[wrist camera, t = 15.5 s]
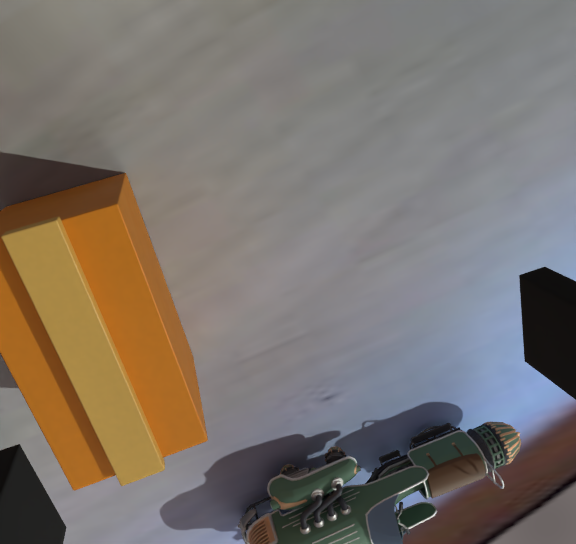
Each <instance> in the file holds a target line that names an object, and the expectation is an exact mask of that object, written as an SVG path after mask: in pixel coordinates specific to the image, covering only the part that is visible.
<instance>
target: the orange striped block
mask: <svg viewBox="0 0 576 544" xmlns="http://www.w3.org/2000/svg"><path fill="white" fill-rule="evenodd" d="M0 353H1V355H2V357H3V359H4V361H5V363H6V365H7V366H8V368H9V370H10V372H11V374H12V376H13V378H14V380H15V381H16V383H17V385H18V387H19V389H20V391H21V393H22V395H23V396H24V398H25V400H26V402H27V404H28V406H29V408H30V410H31V412H32V413H33V415H34V417H35V419H36V421H37V423H38V425H39V427H40V428H41V430H42V432H43V434H44V436H45V438H46V440H47V442H48V443H49V445H50V447H51V449H52V451H53V453H54V455H55V457H56V459H57V460H58V462H59V464H60V466H61V468H62V470H63V472H64V474H65V475H66V477H67V479H68V481H69V483H70V485H71V487H72V489H73V490H77V489H80V488H83V487H85V486H88V485H91V484H93V483H96V482H99V481H101V480H104V479H107V478H109V477H112V476H115V475H116V476H117V478H118V480H119V482H120V485H121V486H123V485H126V484H129V483H131V482H134V481H137V480H139V479H142V478H145V477H147V476H150V475H153V474H155V473H158V472H161V471H163V470H165V463H164V458H163V457H166V456H168V455H171V454H174V453H176V452H179V451H182V450H184V449H187V448H190V447H192V446H195V445H198V444H200V443H203V442H206V441H207V440H208V438H207V432H206V427H205V421H204V416H203V410H202V404H201V399H200V393H199V387H198V382H197V376H196V370H195V365H194V359H193V355H192V352H191V350H190V347H189V344H188V342H187V339H186V336H185V333H184V331H183V328H182V325H181V322H180V320H179V317H178V314H177V311H176V309H175V306H174V303H173V300H172V298H171V295H170V292H169V290H168V287H167V284H166V281H165V279H164V276H163V273H162V270H161V268H160V265H159V262H158V259H157V257H156V254H155V251H154V248H153V246H152V243H151V240H150V238H149V235H148V232H147V229H146V227H145V224H144V221H143V218H142V216H141V213H140V210H139V207H138V205H137V202H136V199H135V197H134V194H133V191H132V188H131V186H130V183H129V180H128V177H127V175H126V173H123V174H120V175H116V176H112V177H109V178H105V179H102V180H98V181H95V182H91V183H88V184H84V185H81V186H77V187H74V188H70V189H67V190H63V191H60V192H56V193H53V194H49V195H46V196H42V197H39V198H35V199H32V200H28V201H25V202H21V203H18V204H14V205H11V206H7V207H5V208H4V209H2V210H1V211H0Z"/></svg>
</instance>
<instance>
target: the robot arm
mask: <svg viewBox="0 0 576 544" xmlns="http://www.w3.org/2000/svg"><path fill="white" fill-rule="evenodd" d="M519 277H520V293H521V309H522V325H523V341H524V357H525V362H527V363H528V364H529V365H531V366H532V367H533V368H535V369H536V370H537V371H539V372H540V373H541V374H543V375H544V376H545V377H547V378H548V379H549V380H551V381H552V382H553V383H555V384H556V385H557V386H558V387H560V388H561V389H562V390H564V391H565V392H566V393H568V394H569V395H570V396H572V397H573V398H574V399H576V281H574V280H572V279H570V278H567V277H565V276H563V275H561V274H559V273H557V272H555V271H553V270H551V269H548V268H546V267H543V268H540V269H537V270H534V271H531V272H528V273H525V274H522V275H519ZM65 531H66V526H65V524H64V522H63V521H62V519H61V517H60V515H59V514H58V512H57V510H56V508H55V506H54V505H53V503H52V501H51V499H50V498H49V496H48V494H47V492H46V490H45V489H44V487H43V485H42V483H41V482H40V480H39V478H38V476H37V474H36V473H35V471H34V469H33V467H32V466H31V464H30V462H29V460H28V459H27V457H26V455H25V453H24V451H23V450H22V448H21V446H20V444H18V445H15V446H13V447H10V448H7V449H4V450H1V451H0V544H63V541H64V536H65Z"/></svg>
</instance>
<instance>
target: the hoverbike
mask: <svg viewBox="0 0 576 544" xmlns="http://www.w3.org/2000/svg"><path fill="white" fill-rule="evenodd" d="M451 428H454V429H455V430H452V429H451ZM430 429H432V430H430ZM428 430H430V431H428ZM448 430H451V431H450V432H447V433H445V434H443V435H440V436H438V437H436V435H438V434H440V433H443V432H445V431H448ZM426 431H427V432H426ZM515 431H516V430H515V429H513V427H512V426H511V425H508V424H505V423H503V422H486V423H484V424H482V425H481V426H479V427H476V428H474V429H469V430H468V431H467V433H466V432H465V431H462V430H460V427H459V428H456V427H454V426H451V424H450V423H447V424H445V425H442V426H433V427H430V428H427V429H425V430H423V431H422V432H420V433H419V434H418V435H417V436H415V437H413V438H411V443H410V450H409V451H408V453H407V455H404V456H402V457H401V456H400V452H399V451H398V450H396V451H393V452H391V453H388V454H386V455H384V456H381V457H380V458H379V461H380V463H381V465H382V466H381V467H380V468H379V469H378V468H375V470H374V472H372V475H371V477H370V479H369V480H368V481H367V482H366V483H365V484H362V485H350V486H345V487H343V488H342V485H343V484H345V483H346V482H348V481H349V480H351V479H352V478H353V477H354V476H355V475H356V474H357V472H359V471H360V467H359V466H357V461H356V459H355V458H353V457H351V456H347V457H346V455H345V452H343V451H342V449H341V448H339V447H337V446H336V447H331V448H330V449H329V450H328V453H326V455H325V461H326V465H324V466H321V467H319V468H315V467H312V468H311V469H310V470H309V468H304V469H301V470H299V468H297V467H294V466H293V465H290V464H287V465H285V466H283V468H282V469H281V473H280V475H278V476H276V477H274V478H272V479H271V480H270V481H269V483H268V487H267V490H268V494H269V495H270V497H268V498H266V499H263V500H261V501H259V502H256V503H254V504H252V505H250V506H249V507H248V508H247V510H246V513H245V515H244V516H242V518H241V519H240V522H239V523H240V524H239V525H238V527H239V528H240V529H241V534H242V537H243V539H244V541H245V544H403V542H402V539H403V535H404V534H405V532H406V533H407V534H410V531H409V529H410V528H412V527H414V526H416V525H418V524H420V523H422V522H424V521H426V520H428V519H430V518H432V517H433V516H434V515H435V514H436V513H437V510H436V508H435V506H434V505H433V504H432V503H428V502H421V503H417V504H414V505H412V506H410V507H407V508H405V509H403V502H400V503H399V510H397V507H396V504H397V503H398V502H399V501H401V500H402V499H403V498H405V497H406V496H408V495H410V494H412V493H414V492H416V491H418V490H419V492H420V493H421V495H422V496H423V497H424V498H425V499H428V498H429V497H432V498H434V497H437V496H439V495H442V494H445V493H447V492H450V491H452V490H455V489H457V488H460V487H462V486H465V485H467V484H470V483H472V482H475V481H477V480H480V479H482V478H484V477H485V475H487V476H488V477H489V478H490V479H491V480H492V481H493V482H494V483H495V484H496V485H497V486H498V487H500V488H504V483H503V480H502V478H501V477H500V475H499V474H498V473H497V472H496V470H495V469H496V468H498V467H500V466H504V465H506V464H509V463H511V462H512V460H513V459H514V458H515V456H516V455H517V453H518V452H519V450H520V446H521V439H520V440H519V438H520V436H519V434H520V433H519V432H515ZM424 432H425V433H424ZM433 436H434V438H433V439H431V440H429V439H428V438H431V437H433ZM423 440H427V441H426V442H423V443H421V444H419V445H416V446H415V445H414V444H416V443H418V442H421V441H423ZM412 444H413V446H414V447H413V448H411V446H412ZM397 456H400V457H399V458H397V459H394V460H392V461H389V462H387V463H385V464H384V465H383V464H382V462H385V461H387V460H390V459H392V458H394V457H397ZM487 472H492V475H493V479H492V478H491V477H490V476H489V475H488V474H487ZM494 472H495V473H496V474H497V475H498V477H499V479H500V480H501V483H502V486H500V485H499V484H498V483H496V482H495V477H494ZM270 499H272V500H271V501H270V506H271V508H272V509H273V510H275V511H274V512H272V513H267V514H265V515H263V516H262V517H260V518H258V515H257V511H256V507H255V506H256V505H258V504H260V503H263V502H265V501H268V500H270ZM252 507H253V508H254V509H253V510H250V509H251V508H252ZM394 507H396V512H395V511H394ZM276 509H277V510H276ZM279 509H281V510H283V509H284V510H292V509H294V510H292V511H290V512H288V513H285V514H282V513H281V512H280V510H279ZM249 510H250V511H249ZM254 515H256V519H257V520H256V521H254V522H253V523H251V521H250V520H251V519H252V517H253V516H254ZM247 523H249V524H247ZM246 530H247V534H246V532H245V531H246Z"/></svg>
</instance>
